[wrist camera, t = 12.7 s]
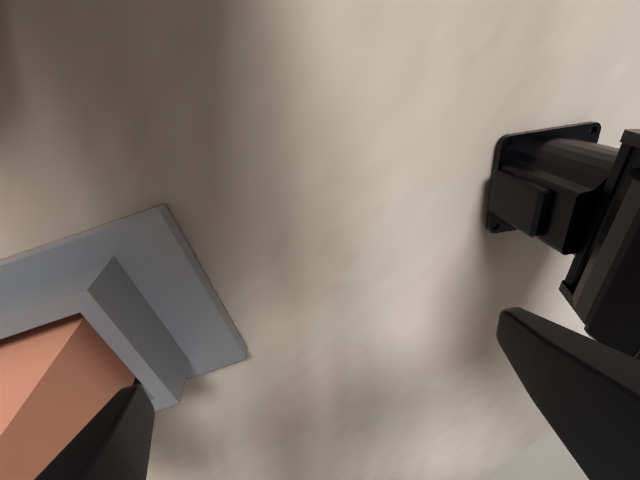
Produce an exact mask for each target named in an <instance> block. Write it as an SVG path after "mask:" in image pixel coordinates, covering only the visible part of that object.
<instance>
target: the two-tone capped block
mask: <svg viewBox="0 0 640 480" xmlns="http://www.w3.org/2000/svg"><path fill="white" fill-rule="evenodd" d="M135 377H136V376H135V375H134V374H133V373H132V372H131V371H130V369H129V368H128V367H127V366H126V365H125V364H124V362H123V361H122V360H121V359H120V358H119V357H118V356H117V354H116V353H115V352H114V351H113V350H112V349H111V347H110V346H109V345H108V344H107V343H106V342H105V341H104V339H103V338H102V337H101V336H100V335H99V334H98V332H97V331H96V330H95V329H94V328H93V327H92V326H91V324H90V323H89V322H88V321H87V320H86V319H85V317H84V316H83V315H82V314H81V313H80V312H79V313H77V314H74V315H71V316H68V317H65V318H62V319H59V320H56V321H53V322H50V323H47V324H44V325H41V326H38V327H35V328H32V329H29V330H26V331H23V332H21V333H18V334H15V335H12V336H9V337H6V338H3V339H2V340H1V341H0V480H34V479H35V478H36V477H37V476H38V475H39V474H40V473H41V472H42V471H43V470H44V468H45V467H46V466H47V465H48V464H49V463H50V462H51V461H52V460H53V459H54V458H55V457H56V456H57V455H58V454H59V453H60V452H61V451H62V450H63V449H64V447H65V446H66V445H67V444H68V443H69V442H70V441H71V440H72V439H73V438H74V437H75V436H76V435H77V434H78V433H79V432H80V431H81V430H82V429H83V428H84V426H85V425H86V424H87V423H88V422H89V421H90V420H91V419H92V418H93V417H94V416H95V415H96V414H97V413H98V412H99V411H100V410H101V409H102V408H103V407H104V405H105V404H106V403H107V402H108V401H109V400H110V399H111V398H112V397H113V396H114V395H115V394H116V393H117V392H118V391H119V390H120V389H122V388H124V387H128V386H132V384H133V382H134V379H135Z"/></svg>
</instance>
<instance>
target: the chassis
mask: <svg viewBox="0 0 640 480" xmlns="http://www.w3.org/2000/svg"><path fill="white" fill-rule="evenodd" d="M79 312H80V313H81V314H82V315H83V316H84V317H85V319H86V320H87V321H88V322H89V323H90V324H91V326H92V327H93V328H94V329H95V330H96V331H97V332H98V334H99V335H100V336H101V337H102V338H103V339H104V341H105V342H106V343H107V344H108V345H109V346H110V347H111V349H112V350H113V351H114V352H115V353H116V354H117V356H118V357H119V358H120V359H121V360H122V361H123V362H124V364H125V365H126V366H127V367H128V368H129V369H130V371H131V372H132V373H133V374H134V375H135V376H136V377H135V379H134V382H133V384H132V386H133V385H141V386H142V387H143V388H144V390H145V391H146V393H147V395H148V397H149V399H150V401H151V402H152V404H153V406H154V411H155V412H156V411H159V410H162V409H165V408H168V407H171V406H174V405H177V404H179V403H180V399H181V395H182V391H183V387H184V383H185V380H186V379H189V378H192V377H195V376H198V375H201V374H204V373H207V372H210V371H213V370H215V369H218V368H221V367H224V366H227V365H230V364H233V363H236V362H239V361H242V360H245V359H246V357H247V346H246V344H245V342H244V340H243V339H242V337H241V335H240V333H239V332H238V330H237V328H236V326H235V325H234V323H233V321H232V319H231V318H230V316H229V314H228V312H227V311H226V309H225V307H224V305H223V304H222V302H221V300H220V298H219V297H218V295H217V293H216V291H215V290H214V288H213V286H212V284H211V283H210V281H209V279H208V278H207V276H206V274H205V272H204V271H203V269H202V267H201V265H200V264H199V262H198V260H197V258H196V257H195V255H194V253H193V251H192V250H191V248H190V246H189V244H188V243H187V241H186V239H185V237H184V236H183V234H182V232H181V230H180V229H179V227H178V225H177V223H176V222H175V220H174V218H173V216H172V215H171V213H170V211H169V209H168V208H167V206H166V204H163V205H160V206H157V207H154V208H151V209H148V210H145V211H142V212H139V213H136V214H133V215H130V216H127V217H125V218H122V219H119V220H116V221H113V222H110V223H107V224H104V225H101V226H98V227H95V228H92V229H89V230H86V231H83V232H80V233H77V234H74V235H71V236H69V237H66V238H63V239H60V240H57V241H54V242H51V243H48V244H45V245H42V246H39V247H36V248H33V249H30V250H27V251H24V252H21V253H18V254H16V255H13V256H10V257H7V258H4V259H1V260H0V341H1V340H2V339H3V338H6V337H9V336H12V335H15V334H18V333H21V332H23V331H26V330H29V329H32V328H35V327H38V326H41V325H44V324H47V323H50V322H53V321H56V320H59V319H62V318H65V317H68V316H71V315H74V314H77V313H79Z"/></svg>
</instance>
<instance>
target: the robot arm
mask: <svg viewBox="0 0 640 480" xmlns="http://www.w3.org/2000/svg"><path fill="white" fill-rule="evenodd" d="M591 128H592V129H591ZM590 129H591V131H590ZM589 131H590V133H589ZM600 131H601V125H600V124H599V123H597V122H584V123H578V124H571V125H565V126H559V127H552V128H546V129H539V130H533V131H527V132H520V133H514V134H507V135H504V136H502V137H501V138H500V139H499V141H498V143H497V149H496V156H495V163H494V171H493V174H492V180H491V187H490V195H489V202H488V214H487V221H486V228H487V230H488V231H490V232H491V233H499V232H505V231H510V230H516V229H519V230H520V231H522V232H523V233H525V234H527V235H528V236H530V237H532V238H534V237H536V238H537V239H539V240H541V241H542V242H544V243H545V244H547V245H549V246H550V247H552V248H553V249H555V250H557V251H558V252H560V253H561V254H563V255H568V254H573V255H575V257H574V259H573V261H572V264H571V266H570V269H569V271H568V273H567V276H566V278H565V280H562V282H561V285H560V287H559V290H560V292H561V293H562V294H563V296H564V297H565V299H566V300H567V301H568V303H569V304H570V305H571V307H572V308H573V309H574V311H575V312H576V313H577V315H578V316H579V318H580V319H581V320H582V322H583V323H584V324H585V327H584V330H585V331H586V333H587V334H588V335H589V336H590V337H591V338H592V339H591V338H588V337H586V336H584V335H581V334H579V333H577V332H575V331H572V330H570V329H568V328H565V327H563V326H561V325H558V324H556V323H554V322H552V321H549V320H547V319H545V318H542V317H540V316H538V315H536V314H533V313H531V312H529V311H526V310H524V309H522V308H519V307H513V308H509V309H504V310H502V311H501V312H500V315H499V321H498V326H497V332H496V335H497V340H498V342H499V344H500V346H501V348H502V349H503V351H504V353H505V355H506V356H507V358H508V360H509V361H510V363H511V365H512V367H513V368H514V370H515V372H516V373H517V375H518V377H519V379H520V380H521V382H522V384H523V385H524V387H525V389H526V390H527V392H528V394H529V395H530V397H531V398H532V400H533V401H534V403H535V404H536V406H537V407H538V409H539V410H540V411H541V413H542V414H543V416H544V417H545V418H546V420H547V421H548V423H549V424H550V425H551V427H552V428H553V430H554V431H555V432H556V434H557V435H558V437H559V438H560V439H561V441H562V442H563V444H564V445H565V446H566V448H567V449H568V450H569V452H570V453H571V455H572V456H573V457H574V459H575V460H576V462H577V463H578V464H579V466H580V467H581V469H582V470H583V471H584V473H585V474H586V476H587V477H588V478H589V480H640V129H625V130H624V133H623V135H622V137H621V140H620V142H622V144H621V147H620V149H618V148H614V147H610V146H605V145H601V144H597V142H598V138H599V134H600ZM507 141H509V143H508V145H507V146H506V147H505V144H506V142H507ZM495 224H496V225H495ZM494 225H495V226H494ZM493 226H494V227H493ZM593 339H594V340H593ZM154 416H155V411H154V406H153V404H152V402H151V401H150V399H149V397H148V395H147V393H146V391H145V390H144V388H143V387H142V386H141V385H133V386H128V387H124V388H122V389H120V390H119V391H118V392H117V393H116V394H115V395H114V396H113V397H112V398H111V399H110V400H109V401H108V402H107V403H106V404H105V405H104V407H103V408H102V409H101V410H100V411H99V412H98V413H97V414H96V415H95V416H94V417H93V418H92V419H91V420H90V421H89V422H88V423H87V424H86V425H85V426H84V428H83V429H82V430H81V431H80V432H79V433H78V434H77V435H76V436H75V437H74V438H73V439H72V440H71V441H70V442H69V443H68V444H67V445H66V446H65V447H64V449H63V450H62V451H61V452H60V453H59V454H58V455H57V456H56V457H55V458H54V459H53V460H52V461H51V462H50V463H49V464H48V465H47V466H46V467H45V468H44V470H43V471H42V472H41V473H40V474H39V475H38V476H37V477H36V478H35V479H34V480H146V476H147V469H148V462H149V454H150V447H151V439H152V432H153V424H154Z"/></svg>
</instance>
